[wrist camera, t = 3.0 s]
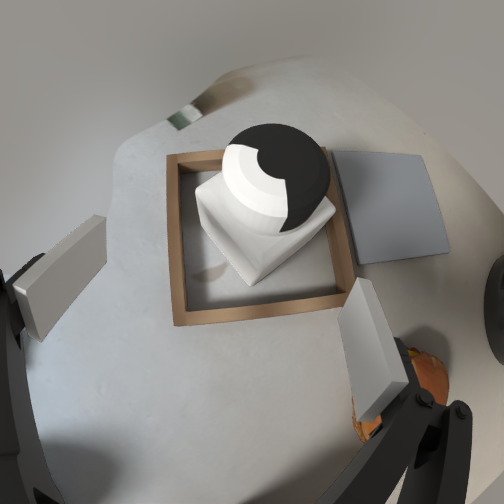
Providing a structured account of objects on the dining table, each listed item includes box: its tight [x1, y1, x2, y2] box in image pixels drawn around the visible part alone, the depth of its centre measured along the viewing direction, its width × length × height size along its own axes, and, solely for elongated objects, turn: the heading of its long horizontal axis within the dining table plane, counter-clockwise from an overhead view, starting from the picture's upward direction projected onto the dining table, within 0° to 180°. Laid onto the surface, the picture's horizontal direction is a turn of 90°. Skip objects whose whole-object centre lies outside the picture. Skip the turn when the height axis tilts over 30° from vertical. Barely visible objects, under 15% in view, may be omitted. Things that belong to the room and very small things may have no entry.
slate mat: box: [332, 151, 450, 265], centre depth 29 cm, size 12×12×1 cm
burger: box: [352, 348, 449, 443], centre depth 22 cm, size 10×9×5 cm
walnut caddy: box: [166, 147, 355, 326], centre depth 26 cm, size 15×15×2 cm
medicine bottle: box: [195, 124, 336, 286], centre depth 21 cm, size 7×7×12 cm
